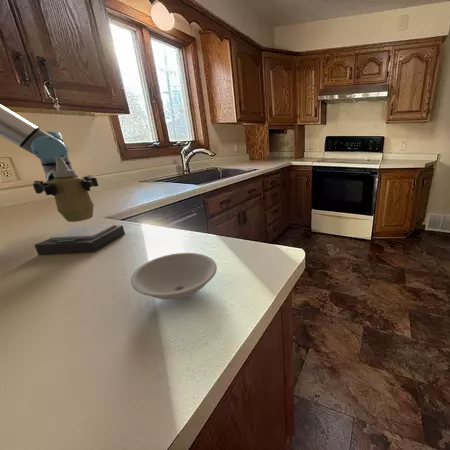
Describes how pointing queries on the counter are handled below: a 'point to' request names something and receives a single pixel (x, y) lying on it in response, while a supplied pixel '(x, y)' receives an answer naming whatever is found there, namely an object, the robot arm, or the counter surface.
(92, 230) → the kitchen scale
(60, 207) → the squeeze bottle
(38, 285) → the counter surface
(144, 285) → the dish
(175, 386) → the counter surface
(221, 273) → the counter surface
